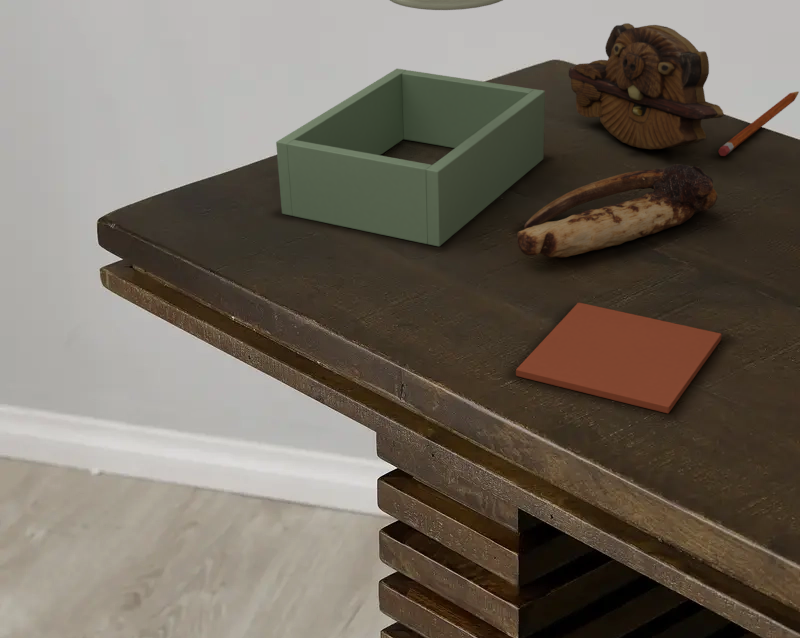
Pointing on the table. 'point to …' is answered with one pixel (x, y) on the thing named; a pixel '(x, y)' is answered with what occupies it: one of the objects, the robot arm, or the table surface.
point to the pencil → (757, 124)
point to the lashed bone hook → (618, 211)
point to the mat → (620, 357)
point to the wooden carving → (647, 88)
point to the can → (444, 4)
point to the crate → (406, 180)
